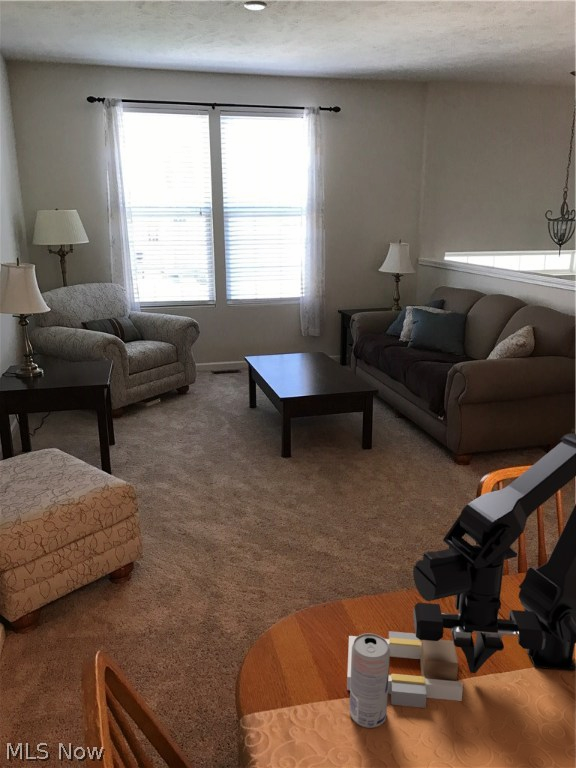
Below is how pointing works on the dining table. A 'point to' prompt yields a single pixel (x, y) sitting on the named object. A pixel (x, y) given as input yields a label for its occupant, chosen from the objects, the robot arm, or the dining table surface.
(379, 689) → the energy drink
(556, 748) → the dining table surface
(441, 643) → the block
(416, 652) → the white u-shaped frame
